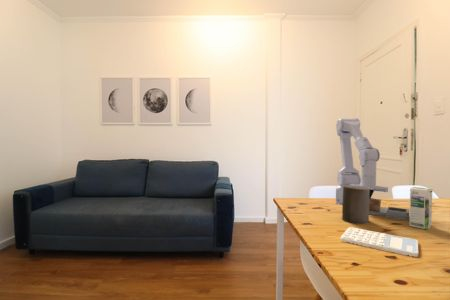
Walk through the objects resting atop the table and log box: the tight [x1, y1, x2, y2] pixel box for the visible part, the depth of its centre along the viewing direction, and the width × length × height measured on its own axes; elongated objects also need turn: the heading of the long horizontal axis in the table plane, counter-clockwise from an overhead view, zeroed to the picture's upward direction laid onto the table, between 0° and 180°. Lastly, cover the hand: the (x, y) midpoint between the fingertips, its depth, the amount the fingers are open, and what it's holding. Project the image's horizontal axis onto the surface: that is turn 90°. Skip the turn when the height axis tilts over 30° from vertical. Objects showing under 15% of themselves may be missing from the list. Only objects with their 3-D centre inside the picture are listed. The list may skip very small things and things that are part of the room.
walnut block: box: [369, 197, 382, 212], centre depth 112 cm, size 4×4×4 cm
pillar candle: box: [341, 183, 370, 225], centre depth 103 cm, size 10×10×15 cm
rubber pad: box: [380, 206, 388, 210], centre depth 120 cm, size 7×7×1 cm
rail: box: [369, 206, 410, 222], centre depth 110 cm, size 18×8×4 cm, turn 54°
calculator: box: [340, 226, 419, 258], centre depth 81 cm, size 13×20×2 cm, turn 53°
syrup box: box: [409, 186, 433, 231], centre depth 96 cm, size 6×6×14 cm
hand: (368, 206), depth 113 cm, fingers closed, pressing on walnut block
